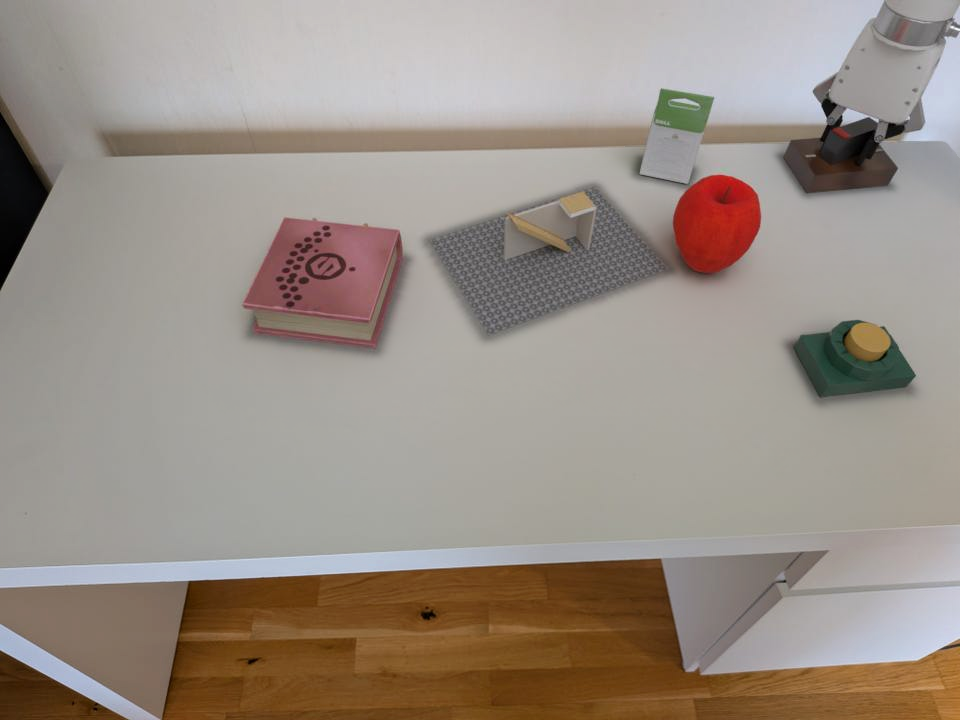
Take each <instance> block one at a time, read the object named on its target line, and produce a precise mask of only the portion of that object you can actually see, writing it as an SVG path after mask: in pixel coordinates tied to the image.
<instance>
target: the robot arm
mask: <svg viewBox="0 0 960 720" xmlns="http://www.w3.org/2000/svg"><path fill="white" fill-rule="evenodd" d="M959 7H960V0H883V2H882V4H881V7H880V8H879V11H878V12H877V15H876V17H872V18H870V19H869V20H868V21H867V23H866V24H865V25H864V27H863V28H862V30H861V31H860V33H859V34H858V36H857V37H856V40H854V43H853V44H852V46H851V48H850V49H849V51H848V53H847V55H846V57H845V59H844V60H843V62H842V64H841V66H840V68H839V70H838V71H837V72H835V73H834V74H832V75H831V76H829V77H827V78H826V79H824V80H822V81H821V82H819V83H818V84H817V85H815V87H814V88H813V89H812V94H813V95H814V97H815V98H816V100H817V102H819V103H820V104H821V105H820V106H821V110H822V111H823V114H824V116H825V118H826V119H825V123H826V126H825V128H824V130H823V132H822V134H821V136H820V137H819V138H820V141H821V142H824V143H825V141H826V139H827V137H828V135H829V132H830V130H833V129H834V128H837V127H841V126H842V123H843V121H844V119H843V118H844V116H843V114H844V113H845V111H846V110H847V109H849V110H851V111H853V112H856V113H859V114H863V115H865V116H868V117H870V118H873V119H874V118H875V119H877V120H878V121H877V123H878V125H877V129H876V131H874V132H873V134H872V135H871V137H870V138H869V140H868V141H867V143H866V145H865V147H864V149H863V151H862V152H861V154H860V156H859V158H858V160H857V162H856V164H857V165H858V166H861V164H862V163H863V161H864V160H865V158H867V159H869V160H871V158H872V156H873V155H874V153H875V151H876V149H877V148H878V146H879V145H880V144H881V143H883V142H884V141H885V140H888V139H891V138H894V137H897V136H900V135H902V134H907V133H913V132H919V131H922V130H923V128H924V126H925V124H926V118H925V112H924V107H923V102H922V101H923V100H922V97H923V95H924V93H925V91H926V89H927V87H928V85H929V83H930V82H931V80H932V77H933V76H934V73H935V71H936V70H937V68H938V66H939V63H940V60H941V58H942V55H943V53H944V50H945V47H946V44H947V40H946V38H949V37H952V38H954V39H957V37H958V36H959V34H960V24H959V23H958V22H956V21H955V20H956V18H954V17H955V15H956V13H957V11H958V9H959ZM945 37H946V38H945ZM824 143H823V145H824ZM823 145H822V147H823ZM822 147H821V149H822ZM821 149H820V151H821Z"/></svg>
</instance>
